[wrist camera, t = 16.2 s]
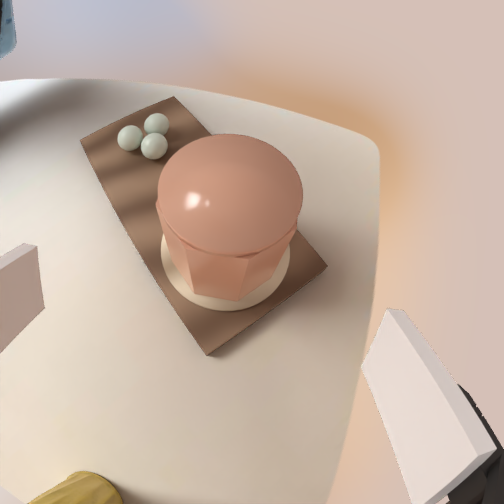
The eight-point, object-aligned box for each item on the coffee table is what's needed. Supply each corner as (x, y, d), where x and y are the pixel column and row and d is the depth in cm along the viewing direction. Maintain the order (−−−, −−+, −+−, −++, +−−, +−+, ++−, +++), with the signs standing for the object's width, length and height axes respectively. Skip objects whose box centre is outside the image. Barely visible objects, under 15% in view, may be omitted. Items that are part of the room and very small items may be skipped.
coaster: (139, 232, 28) (138, 231, 28) (239, 177, 32) (240, 174, 32) (208, 338, 25) (209, 337, 24) (314, 263, 29) (315, 261, 28)
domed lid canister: (163, 289, 26) (138, 236, 17) (187, 201, 30) (180, 126, 20) (268, 307, 26) (298, 264, 17) (278, 217, 30) (305, 147, 21)
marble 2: (142, 133, 33) (138, 115, 31) (163, 123, 34) (161, 105, 32) (152, 146, 33) (148, 128, 30) (174, 136, 34) (172, 117, 31)
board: (82, 146, 33) (80, 140, 32) (174, 102, 38) (173, 96, 37) (206, 355, 25) (206, 354, 24) (323, 270, 30) (327, 266, 29)
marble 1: (116, 145, 32) (111, 127, 29) (138, 134, 33) (134, 116, 30) (125, 160, 31) (120, 142, 29) (148, 148, 32) (145, 130, 30)
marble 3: (139, 153, 32) (134, 135, 29) (161, 142, 33) (159, 123, 30) (149, 169, 31) (145, 150, 28) (173, 157, 32) (171, 138, 29)
